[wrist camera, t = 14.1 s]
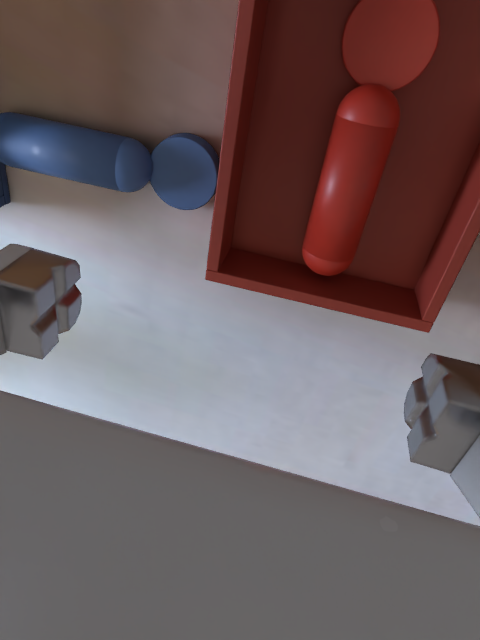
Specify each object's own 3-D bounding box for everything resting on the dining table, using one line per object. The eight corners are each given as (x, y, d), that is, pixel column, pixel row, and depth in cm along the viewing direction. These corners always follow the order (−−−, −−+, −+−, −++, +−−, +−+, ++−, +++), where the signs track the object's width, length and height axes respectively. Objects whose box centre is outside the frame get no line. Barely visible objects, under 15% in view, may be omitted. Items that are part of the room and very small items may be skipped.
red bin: (267, -83, 17) (251, -105, 14) (569, -32, 16) (618, -45, 13) (221, 251, 25) (204, 280, 22) (419, 297, 24) (429, 333, 21)
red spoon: (290, 253, 24) (284, 276, 22) (357, -25, 17) (358, -32, 15) (356, 268, 23) (357, 293, 21) (451, -8, 17) (467, -13, 14)
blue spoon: (1, 93, 23) (-35, 100, 20) (226, 140, 22) (213, 153, 20) (11, 164, 25) (-20, 177, 23) (217, 210, 24) (204, 228, 22)
